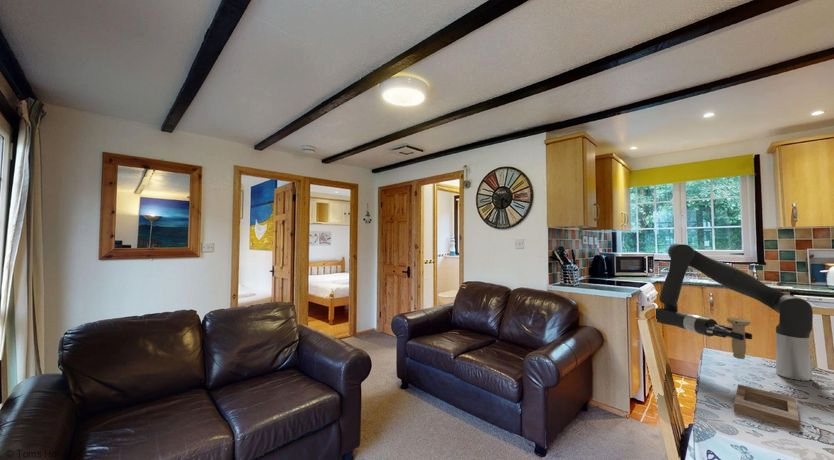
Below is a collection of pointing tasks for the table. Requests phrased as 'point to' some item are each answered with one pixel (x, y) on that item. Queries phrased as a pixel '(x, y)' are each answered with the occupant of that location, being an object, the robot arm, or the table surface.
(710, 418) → the table surface
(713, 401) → the table surface
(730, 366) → the table surface
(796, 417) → the wooden rectangular frame
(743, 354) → the handle
